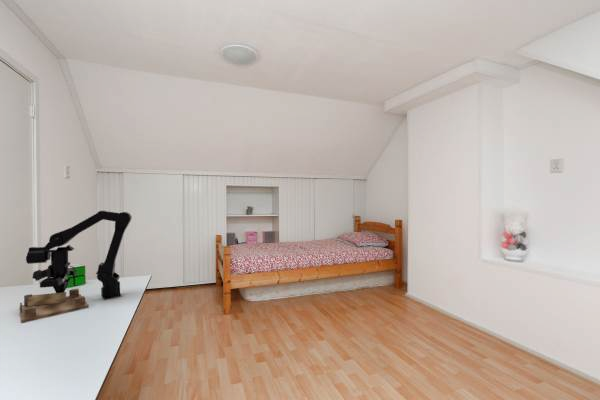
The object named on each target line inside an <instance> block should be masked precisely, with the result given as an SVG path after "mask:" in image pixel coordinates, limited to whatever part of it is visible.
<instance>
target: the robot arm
mask: <svg viewBox="0 0 600 400" xmlns="http://www.w3.org/2000/svg"><path fill="white" fill-rule="evenodd" d="M132 219H133V218H132V215H131V213H129V212H128V211H122V212H114V211H107V210H99V211H98V212H96V213H95V214H93V215H91V216H90V217H88V218H86V219H84V220H82V221H81V222H79V223H77V224H76V225H74V226H71V227H69V228H66V229H64V230H62V231H61V230H60V231H59V232H56V233H53V234H52V235H50V236H49V239H48V240H49V241H48V242H47V243H46V244H45V245H44V246H38V247H37V246H32V247H28V251H27V253H26V257H25V261H26V264H28V265H31V264H33V265H34V264H46V263H47V261H50V264H49V265H48V266H47V268H45V269H42V270H41V269H38V270H34V271H33V273H32V279H33V280H35V281H36V282H38V281H40V280H41V281H40V282H39V288H40V289H41V288H51V287H52V288H53V290H54V293H62V292H66V289H68V288H67V286H68V284H69V282H70V280H71V279H67V278H66V277H67V276H68V275H73V276H76V275H77V271H76V270H75V269H68V265H71V262H70V261H69V252H71V251H74V250H75V248H74V247H73V246H71V245H70V244H68V243H69V242H70V241H72V240H73V239H74V238H75V237H77V235H79V234H80V233H83V232H84V231H86V230H87V229H89V228H91V227H93V226H94V225H96V224H98V223H99V222H101V221H103V220H105V221H111V222H114V233H113V235H112V238H111V242H110V244H109V248H108V251H107V254H106V257H105V260H104V262H102V261H101V262H100V263H99V264H98V268H97V271H96V273H95V275H96V278H97V280H98V281H99V282H101V284H102V287H100V294H101V296H100V297H101V298H103V299H104V300H110V299H113V298H119V297H121V296H122V294H121V282H120V281H119V280H120V277H121V275H120V274H118V273H117V272H116V271H115V270H116V259H117V257H118V253H119V250H120V246H121V244H122V240H123V237H124V234H125V232H126V230H127V228H128V227H129V224H130V223H131V221H132ZM66 244H68V245H67V246H64V245H66ZM56 247H57V248H56ZM55 248H56V249H55Z"/></svg>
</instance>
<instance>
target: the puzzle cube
mask: <svg viewBox="0 0 600 400" xmlns="http://www.w3.org/2000/svg"><path fill="white" fill-rule="evenodd" d="M68 269H75V270H76V271H77V275H76V276H73V275H68V276H67V277H66V278H67V279H71V280H70V282H69V284H68V286H67V288H66V289H69V288H74V287H78V286H82V285H84V286H85V284H86V281H87V280H86V265H84V264H81V263H72V264H70V265H68Z"/></svg>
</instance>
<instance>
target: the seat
mask: <svg viewBox="0 0 600 400" xmlns="http://www.w3.org/2000/svg"><path fill="white" fill-rule="evenodd" d="M79 290H80V289H79V288H72V289H69V290H68V291H69V292H68V293H69V294H68V296H67V295H66V301H65V302H63V303H54V304H44V305H34V306H24V304H23V303H22V302H19V314H20V315H19V317H20V322H21V324H23V323H27V322H33V321H37V320H39V319H40V320H41V319H44V318H45V319H46V318H49V317H54V316H58V315H59V316H60V315H63V314H67V313H72V312H76V311H79V310H80V311H81V310H83V309H89V308H90V305H89V303H88V302H87V301H86V297H85V295H82V294H80V291H79Z"/></svg>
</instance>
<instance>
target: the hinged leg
mask: <svg viewBox="0 0 600 400" xmlns="http://www.w3.org/2000/svg"><path fill="white" fill-rule="evenodd" d="M66 297H67V292H66V291H64V292H62V293H56V292H53V293H52V292H51V293H43V294H42V293H41V294H25V295H23V299H24V300H23V305H24V306H34V305H44V304H54V303H63V302H65V301H66Z"/></svg>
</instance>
